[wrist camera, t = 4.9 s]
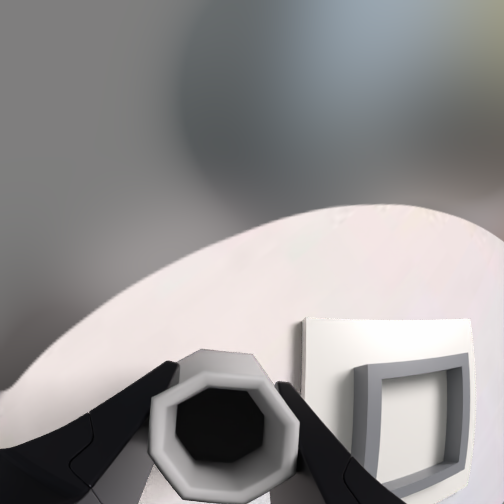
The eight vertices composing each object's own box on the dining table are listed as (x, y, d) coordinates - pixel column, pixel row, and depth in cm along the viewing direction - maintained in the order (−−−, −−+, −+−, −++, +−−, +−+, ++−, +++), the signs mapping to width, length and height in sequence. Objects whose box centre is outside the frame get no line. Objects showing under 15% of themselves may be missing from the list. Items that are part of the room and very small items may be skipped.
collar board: (461, 485, 14) (480, 487, 11) (288, 541, 12) (299, 558, 9) (464, 321, 23) (483, 311, 21) (302, 320, 22) (315, 308, 19)
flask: (170, 477, 11) (118, 570, 2) (139, 359, 14) (45, 301, 5) (296, 450, 12) (405, 502, 4) (263, 336, 16) (330, 252, 7)
